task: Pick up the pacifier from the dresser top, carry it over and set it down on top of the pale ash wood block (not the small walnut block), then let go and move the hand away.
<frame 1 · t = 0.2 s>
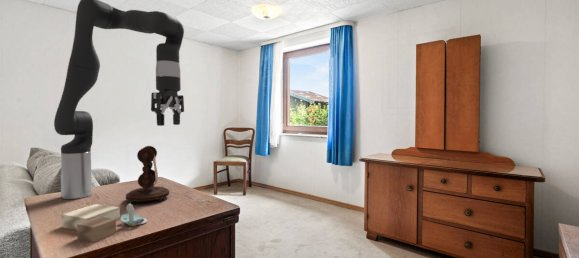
hand: (168, 125, 94), 29 cm above the table, fingers open, 8 cm apart
ash block: (91, 224, 83), on the table
walnut block: (97, 236, 74), on the table
dark brown sculpture: (148, 199, 106), on the table
pacifier: (135, 224, 83), on the table
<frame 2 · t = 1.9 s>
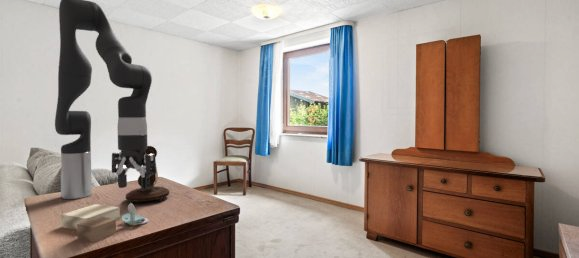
hand: (133, 188, 82), 10 cm above the table, fingers open, 8 cm apart
nothing on the table moved.
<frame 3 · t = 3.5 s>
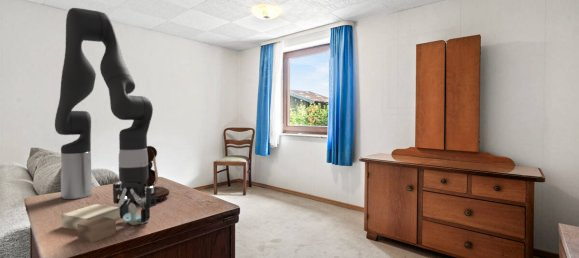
hand: (134, 219, 83), 1 cm above the table, fingers closed on pacifier, 7 cm apart
pacifier: (137, 223, 83), on the table, touching gripper
everything else where it was.
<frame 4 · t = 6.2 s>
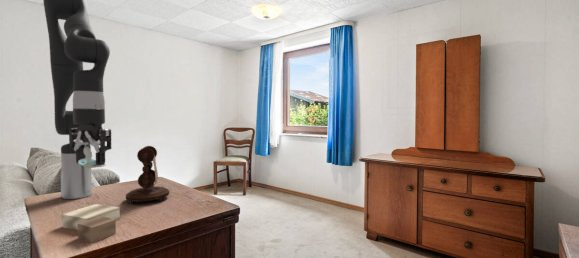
hand: (90, 164, 82), 17 cm above the table, fingers closed on pacifier, 7 cm apart
pacifier: (93, 167, 83), point 16 cm above the table, touching gripper
everything else where it was.
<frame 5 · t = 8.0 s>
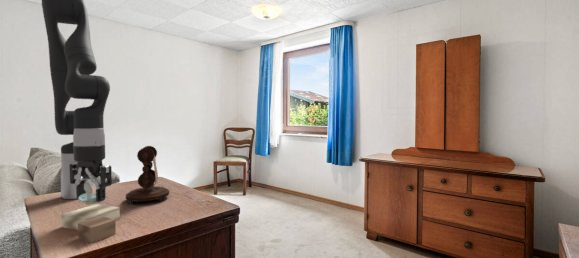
hand: (90, 199, 82), 7 cm above the table, fingers closed on pacifier, 7 cm apart
pacifier: (93, 203, 83), point 6 cm above the table, touching gripper
everything else where it was.
when the fingers open (6 cm above the table, at t = 9.2 s): pacifier drops 2 cm, resting on ash block.
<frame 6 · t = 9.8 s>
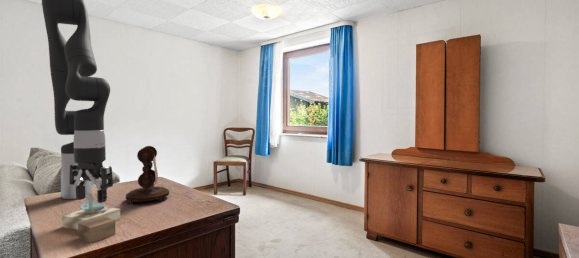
hand: (91, 200, 82), 7 cm above the table, fingers open, 8 cm apart
ash block: (92, 225, 83), on the table, touching pacifier
pacifier: (95, 211, 83), point 3 cm above the table, touching ash block
everything else where it was.
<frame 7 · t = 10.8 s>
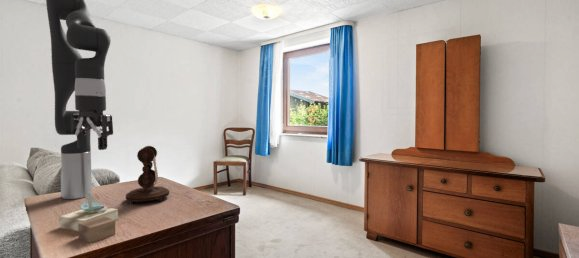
hand: (92, 148, 85), 22 cm above the table, fingers open, 8 cm apart
ash block: (90, 226, 82), on the table
pacifier: (95, 211, 83), point 3 cm above the table
everything else where it was.
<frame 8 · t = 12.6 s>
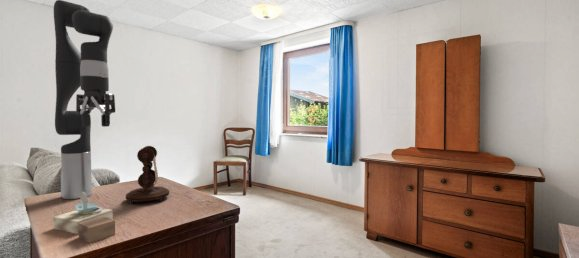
hand: (95, 126, 92), 28 cm above the table, fingers open, 8 cm apart
ash block: (84, 226, 81), on the table, touching pacifier
pacifier: (89, 212, 82), point 3 cm above the table, touching ash block
everything else where it was.
at the end: pacifier inside the target area on the ash block (1.3 cm from its centre), point 3.8 cm above the ash block's base; pacifier touching ash block; the gripper is holding nothing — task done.
